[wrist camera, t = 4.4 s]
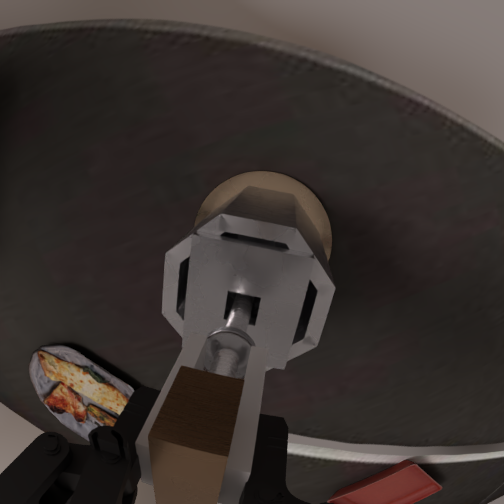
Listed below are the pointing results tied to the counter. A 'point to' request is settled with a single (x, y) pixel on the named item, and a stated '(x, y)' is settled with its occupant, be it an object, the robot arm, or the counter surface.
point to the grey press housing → (255, 264)
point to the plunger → (204, 410)
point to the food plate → (77, 388)
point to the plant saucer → (389, 487)
